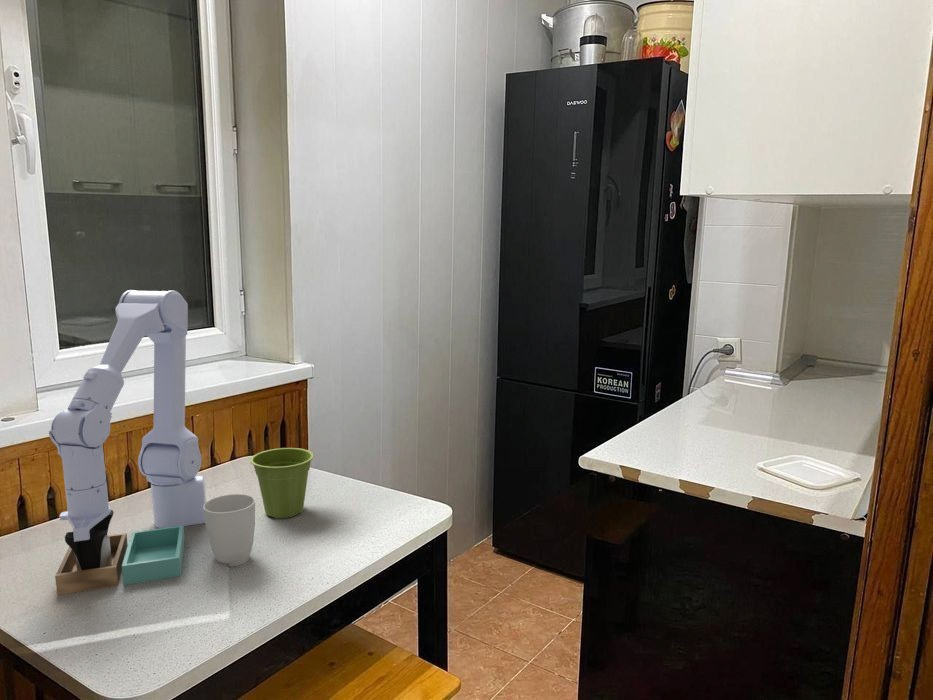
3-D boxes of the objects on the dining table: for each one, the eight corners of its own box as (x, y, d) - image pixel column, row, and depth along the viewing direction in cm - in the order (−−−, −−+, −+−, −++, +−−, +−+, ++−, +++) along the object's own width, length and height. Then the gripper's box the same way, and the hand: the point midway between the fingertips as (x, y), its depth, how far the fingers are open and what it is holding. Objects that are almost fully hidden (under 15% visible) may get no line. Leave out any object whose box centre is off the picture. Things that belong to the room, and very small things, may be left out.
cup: (268, 552, 120) (264, 497, 119) (238, 574, 113) (234, 515, 111) (228, 546, 123) (224, 491, 121) (196, 567, 116) (192, 509, 114)
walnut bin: (128, 553, 121) (126, 532, 120) (118, 590, 108) (115, 567, 108) (74, 561, 118) (72, 540, 117) (57, 599, 106) (55, 576, 105)
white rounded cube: (114, 561, 116) (111, 532, 115) (110, 574, 111) (107, 545, 111) (80, 566, 114) (77, 537, 114) (74, 580, 110) (71, 550, 109)
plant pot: (269, 529, 130) (265, 471, 128) (244, 510, 139) (240, 455, 137) (326, 513, 137) (324, 457, 135) (299, 496, 146) (297, 443, 144)
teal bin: (185, 545, 123) (183, 525, 123) (181, 580, 111) (179, 557, 111) (133, 553, 121) (131, 532, 120) (124, 589, 109) (121, 566, 108)
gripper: (66, 472, 116) (75, 550, 118) (46, 504, 102) (56, 591, 105) (113, 467, 118) (121, 543, 121) (100, 497, 105) (109, 582, 107)
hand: (94, 565), depth 113 cm, fingers closed on white rounded cube, 5 cm apart
